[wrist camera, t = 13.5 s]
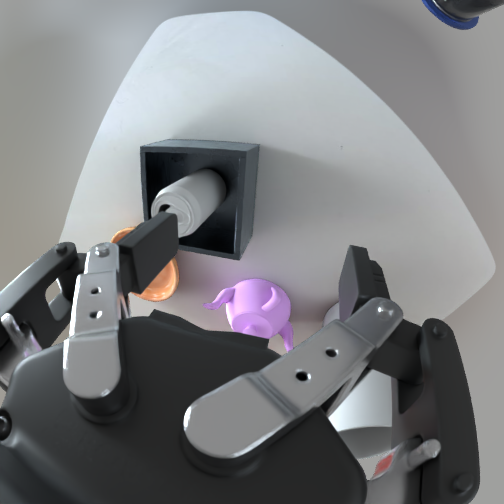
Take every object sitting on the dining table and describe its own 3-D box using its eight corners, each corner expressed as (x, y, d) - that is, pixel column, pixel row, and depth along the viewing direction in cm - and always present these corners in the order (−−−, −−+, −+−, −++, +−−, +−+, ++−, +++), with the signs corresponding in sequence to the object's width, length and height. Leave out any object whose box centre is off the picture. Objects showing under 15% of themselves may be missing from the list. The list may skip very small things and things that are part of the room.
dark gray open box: (168, 139, 39) (139, 146, 32) (259, 144, 37) (246, 151, 30) (170, 223, 46) (146, 243, 40) (252, 236, 44) (239, 260, 37)
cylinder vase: (398, 302, 44) (426, 425, 22) (370, 348, 50) (377, 460, 29) (335, 287, 45) (335, 421, 24) (314, 337, 51) (300, 455, 30)
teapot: (219, 274, 49) (201, 304, 42) (297, 271, 45) (292, 304, 38) (233, 324, 54) (220, 356, 47) (302, 324, 51) (298, 359, 43)
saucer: (113, 271, 55) (105, 278, 53) (121, 209, 47) (112, 215, 45) (174, 305, 56) (168, 314, 53) (193, 246, 48) (186, 254, 45)
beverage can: (191, 163, 39) (149, 184, 29) (231, 173, 39) (199, 196, 29) (186, 202, 43) (147, 233, 32) (224, 212, 42) (193, 247, 32)
